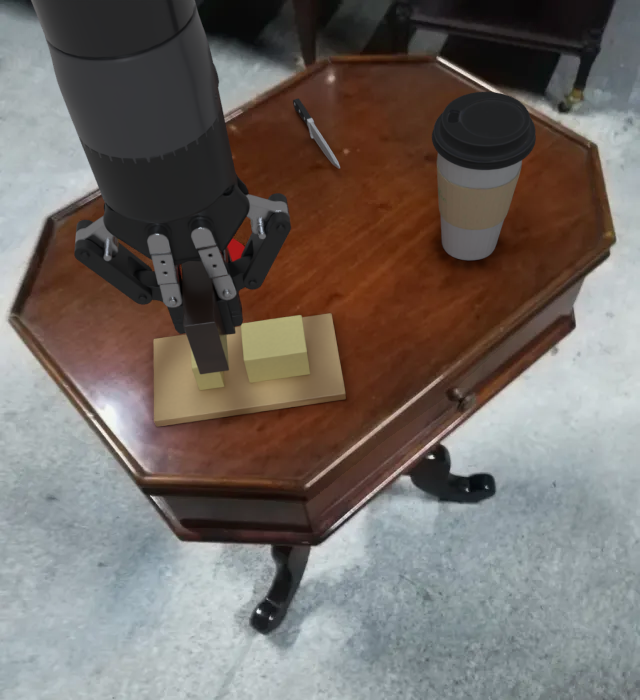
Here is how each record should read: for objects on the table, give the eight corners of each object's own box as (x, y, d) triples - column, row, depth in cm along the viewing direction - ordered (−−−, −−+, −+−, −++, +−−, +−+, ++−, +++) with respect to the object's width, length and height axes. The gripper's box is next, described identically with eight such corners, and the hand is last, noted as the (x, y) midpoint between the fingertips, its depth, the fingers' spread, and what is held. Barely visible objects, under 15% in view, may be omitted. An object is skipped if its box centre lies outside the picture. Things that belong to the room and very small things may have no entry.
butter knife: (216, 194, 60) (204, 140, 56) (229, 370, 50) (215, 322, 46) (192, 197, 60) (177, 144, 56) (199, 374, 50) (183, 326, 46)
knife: (343, 178, 87) (342, 164, 85) (337, 180, 87) (336, 166, 85) (299, 110, 94) (297, 95, 93) (293, 111, 94) (292, 97, 93)
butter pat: (222, 350, 73) (215, 327, 70) (224, 387, 71) (217, 364, 68) (197, 353, 73) (189, 330, 70) (199, 390, 71) (191, 368, 68)
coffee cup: (412, 224, 82) (417, 101, 69) (492, 202, 83) (511, 76, 70) (445, 283, 77) (457, 162, 64) (530, 259, 78) (558, 134, 65)
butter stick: (304, 338, 73) (301, 314, 70) (310, 374, 71) (307, 351, 68) (246, 346, 73) (240, 323, 70) (249, 383, 71) (243, 360, 68)
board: (332, 319, 75) (331, 312, 75) (346, 399, 70) (345, 393, 69) (155, 345, 75) (153, 338, 74) (156, 427, 70) (153, 421, 69)
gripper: (3, 172, 36) (113, 384, 50) (288, 132, 36) (315, 355, 50) (18, 81, 40) (116, 302, 54) (274, 46, 40) (303, 275, 54)
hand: (212, 327), depth 52 cm, fingers closed on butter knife, 2 cm apart
